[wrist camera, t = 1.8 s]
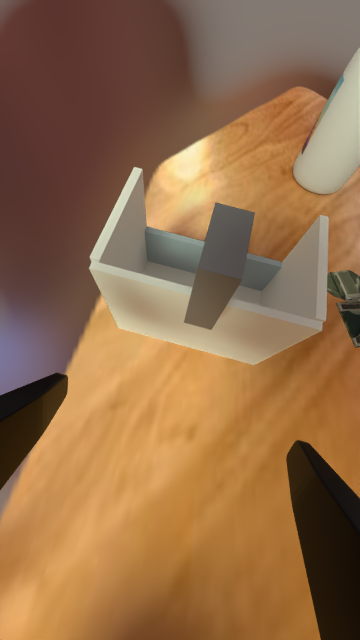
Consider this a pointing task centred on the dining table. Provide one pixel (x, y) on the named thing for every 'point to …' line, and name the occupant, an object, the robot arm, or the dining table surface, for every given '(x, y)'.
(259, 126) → the dining table surface
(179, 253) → the carton
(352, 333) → the eiffel tower figurine
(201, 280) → the carton flap
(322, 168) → the milk bottle
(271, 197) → the dining table surface
